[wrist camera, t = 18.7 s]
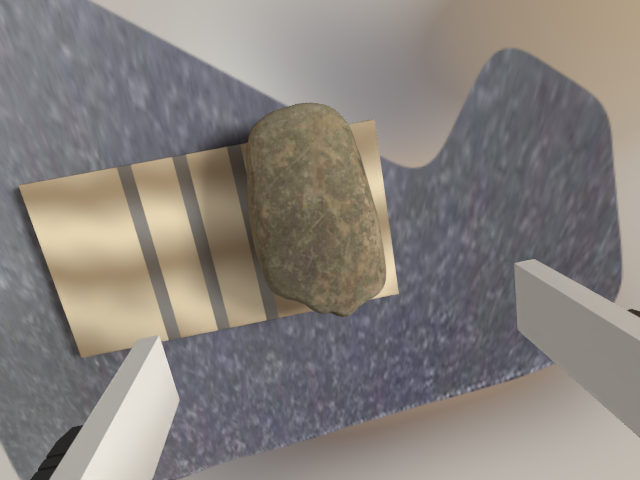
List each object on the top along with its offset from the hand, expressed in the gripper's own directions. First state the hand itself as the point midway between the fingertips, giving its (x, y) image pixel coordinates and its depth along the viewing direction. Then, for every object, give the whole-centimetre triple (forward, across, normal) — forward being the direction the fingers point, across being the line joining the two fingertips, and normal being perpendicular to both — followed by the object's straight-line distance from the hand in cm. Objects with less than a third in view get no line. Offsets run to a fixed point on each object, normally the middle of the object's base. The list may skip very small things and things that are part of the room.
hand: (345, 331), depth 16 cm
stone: (+19, 0, +1) cm, 19 cm away
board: (+20, -7, -1) cm, 21 cm away
